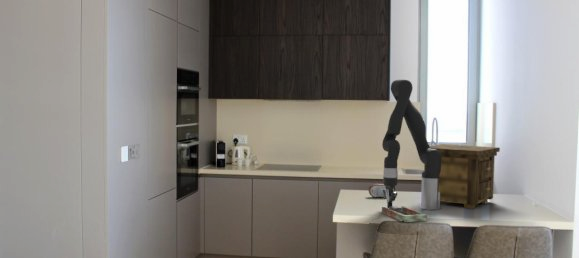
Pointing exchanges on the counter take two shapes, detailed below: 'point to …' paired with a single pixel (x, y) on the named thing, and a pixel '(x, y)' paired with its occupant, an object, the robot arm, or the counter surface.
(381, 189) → the tin
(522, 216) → the counter surface
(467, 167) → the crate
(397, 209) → the block
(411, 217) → the track
